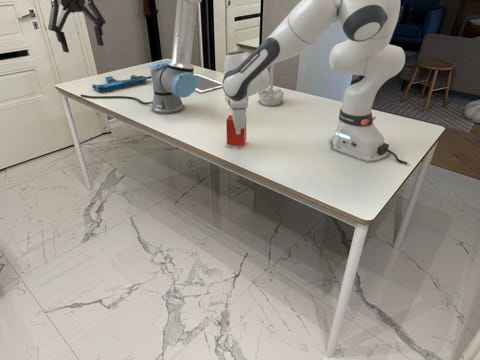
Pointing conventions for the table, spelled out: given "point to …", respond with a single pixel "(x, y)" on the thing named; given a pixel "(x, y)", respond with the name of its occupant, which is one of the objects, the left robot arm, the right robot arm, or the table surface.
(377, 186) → the table surface
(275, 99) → the flag stand
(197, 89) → the tablet
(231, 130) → the block
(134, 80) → the submachine gun
